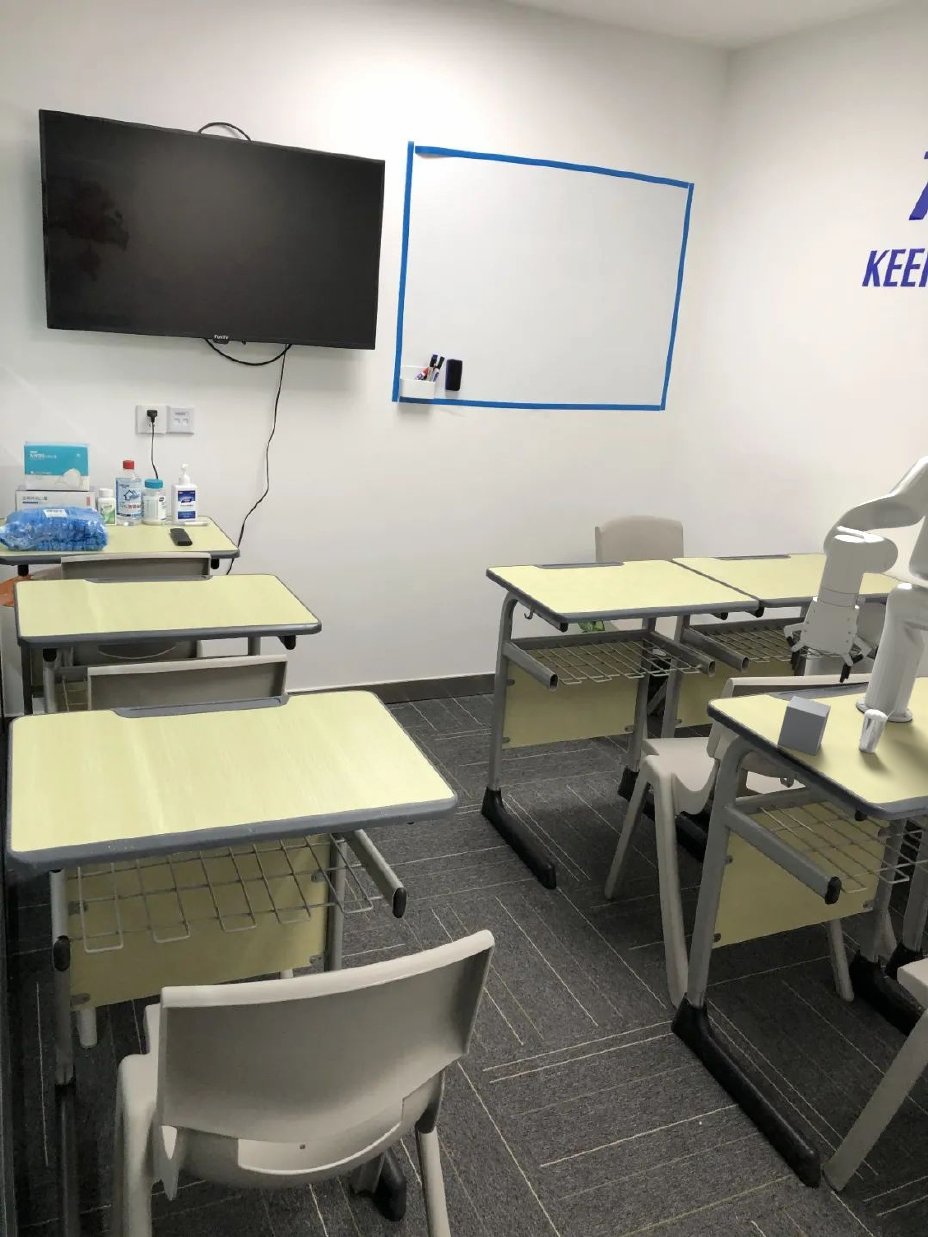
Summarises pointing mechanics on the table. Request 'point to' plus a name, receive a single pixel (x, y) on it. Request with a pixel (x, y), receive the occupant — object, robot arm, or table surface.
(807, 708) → the grey cube
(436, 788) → the table surface
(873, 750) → the milkshake
